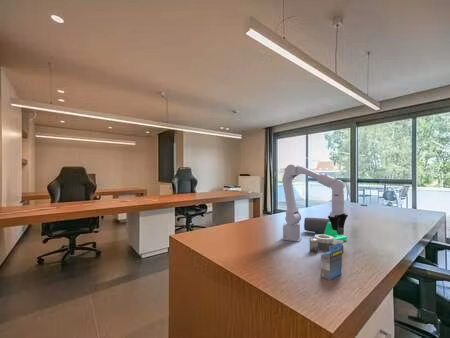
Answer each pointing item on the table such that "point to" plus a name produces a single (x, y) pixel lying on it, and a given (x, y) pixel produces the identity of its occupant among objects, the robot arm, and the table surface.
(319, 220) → the bluetooth speaker
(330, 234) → the camera mount
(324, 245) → the camera body
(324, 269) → the label tape box
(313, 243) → the lens
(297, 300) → the table surface
